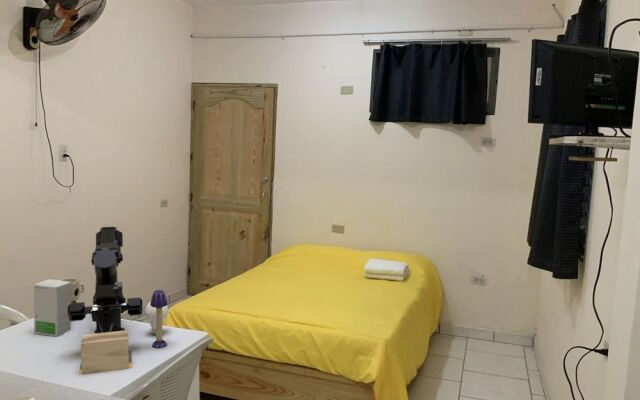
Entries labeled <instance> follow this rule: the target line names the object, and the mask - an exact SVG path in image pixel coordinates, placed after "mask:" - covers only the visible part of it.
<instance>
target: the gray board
mask: <svg viewBox="0 0 640 400" xmlns="http://www.w3.org/2000/svg"><path fill="white" fill-rule="evenodd" d="M132 351H133V350H132V349H128V355H129V368H128V369H132V368H133V358H132V357H133V356H132V355H133V353H132ZM78 375H83V374H82V361H80V366H79V370H78Z"/></svg>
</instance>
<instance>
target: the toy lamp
mask: <svg viewBox="0 0 640 400" xmlns="http://www.w3.org/2000/svg"><path fill="white" fill-rule="evenodd" d="M150 302H151V303H150V305H151V306H152V307H155V308H156V310H157V311H156V315H157V316H156V320H157V322H156V325H157V327H156V330H157V332H156V335H155V339H156V340H154V341H153V343H152V344H151V347H152V348H153V349H156V350H157V349H164V348H166V347H167V346H168V343H167V341H166V340H164V339H163V325H164V323H163V322H164V321H162V318H163V317H162V313H163V312H162V307H165V306H166V305H167V306H168V300H167V296H166V293H165V291H164V290H162V289H157V290H154V291H153V293H152V296H151V299H150ZM162 324H163V325H162Z"/></svg>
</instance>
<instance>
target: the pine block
mask: <svg viewBox="0 0 640 400" xmlns="http://www.w3.org/2000/svg"><path fill="white" fill-rule="evenodd" d="M128 350H129V330H124V331H116V332H107V333H87V334H82V337H81V343H80V351H81V352H80V354H81V355H80V356H81V357H80V358H81V359H80V360H81V361H82V374H81V375H85V374H87V375H88V374H93V373H101V372H108V371H109V372H110V371H117V370H118V371H119V370H125V369H130V368H129V355H128ZM81 361H80V362H81Z"/></svg>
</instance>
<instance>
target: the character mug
mask: <svg viewBox="0 0 640 400" xmlns="http://www.w3.org/2000/svg"><path fill="white" fill-rule="evenodd" d="M58 280H61V281H67V282H71V303H78V302H77V300H79V299H80V296H81V294H82V293H84V292H85V283H84V282H80V279H79V278H76V277H65V278H59V279H58Z"/></svg>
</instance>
